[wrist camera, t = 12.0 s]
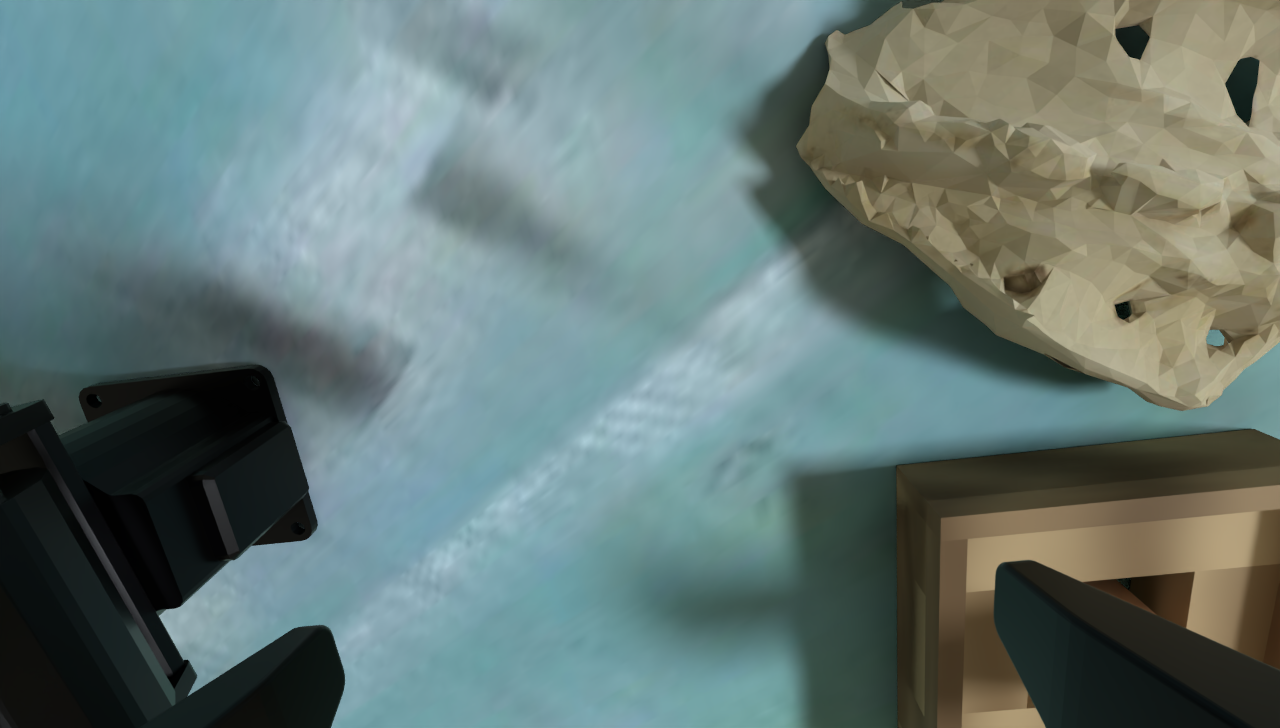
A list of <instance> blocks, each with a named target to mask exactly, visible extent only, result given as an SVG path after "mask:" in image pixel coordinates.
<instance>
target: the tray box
mask: <svg viewBox="0 0 1280 728" xmlns="http://www.w3.org/2000/svg"><path fill="white" fill-rule="evenodd" d="M896 484H897V697H898V728H1046V727H1045V725H1044V723H1043V721H1042V719H1041V717H1040V715H1039V713H1038V711H1037V709H1036V708H1035V706H1034V704H1033V702H1032V700H1031V698H1030V696H1029V694H1028V692H1027V690H1026V688H1025V686H1024V684H1023V682H1022V680H1021V678H1020V676H1019V674H1018V673H1017V671H1016V669H1015V667H1014V665H1013V663H1012V661H1011V659H1010V657H1009V655H1008V653H1007V651H1006V649H1005V647H1004V645H1003V643H1002V641H1001V639H1000V637H999V635H998V633H997V630H996V627H995V623H994V614H993V613H994V592H995V574H996V569H997V567H998V565H1000V564H1001V563H1003V562H1010V561H1021V560H1033V561H1036V562H1038V563H1041V564H1043V565H1045V566H1047V567H1050V568H1052V569H1054V570H1056V571H1059V572H1061V573H1063V574H1065V575H1068V576H1070V577H1072V578H1074V579H1077V580H1079V581H1081V582H1087V581H1097V580H1108V579H1119V578H1130V577H1131V583H1130V592H1131V593H1132V594H1133V595H1134V596H1136V597H1137V598H1138V599H1139V600H1140V601H1141V602H1143V603H1144V604H1145V605H1146V606H1147V607H1148V608H1149V609H1151V610H1152V611H1153V612H1154V613H1155V614H1156V615H1157V616H1160V617H1162V618H1164V619H1166V620H1169V621H1171V622H1173V623H1175V624H1178V625H1180V626H1182V627H1184V628H1187V629H1189V630H1191V631H1193V632H1196V633H1198V634H1200V635H1202V636H1205V637H1207V638H1209V639H1211V640H1214V641H1216V642H1218V643H1220V644H1223V645H1225V646H1227V647H1229V648H1232V649H1234V650H1236V651H1238V652H1240V653H1243V654H1245V655H1247V656H1249V657H1252V658H1254V659H1256V660H1258V661H1261V662H1263V663H1265V664H1267V665H1270V666H1272V667H1274V668H1276V669H1279V670H1280V440H1279V439H1277V438H1274V437H1272V436H1270V435H1267V434H1265V433H1262V432H1260V431H1258V430H1255V429H1249V430H1239V431H1229V432H1219V433H1210V434H1200V435H1190V436H1180V437H1171V438H1161V439H1151V440H1141V441H1131V442H1122V443H1112V444H1102V445H1092V446H1082V447H1073V448H1063V449H1053V450H1043V451H1034V452H1024V453H1014V454H1004V455H994V456H985V457H975V458H965V459H955V460H946V461H936V462H926V463H916V464H906V465H897V466H896Z"/></svg>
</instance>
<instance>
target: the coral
mask: <svg viewBox="0 0 1280 728" xmlns="http://www.w3.org/2000/svg"><path fill="white" fill-rule="evenodd" d="M1136 25H1139V26H1140V27H1141V28H1142V29H1143V30H1144V31H1145V32H1146V33H1147V34H1148V36H1149V37H1150V38H1149V40H1148V43H1147V45H1146V47H1145V50H1144V52H1143V54H1142V57H1141V59H1140V60H1139V59H1135V58H1131V57H1129V56H1128V55H1127V53H1126V52H1125V51H1124V49H1123V48H1122V46H1121V45H1120V44H1119V42H1118V40H1117V38H1116V36H1115V29H1117V28H1123V27H1130V26H1136ZM825 46H826V49H827V52H828V56H829V67H830V70H829V73H828V76H827V79H826V82H825V84H824V86H823V88H822V90H821V91H820V93H819V95H818V96H817V98H816V100H815V102H814V103H813V105H812V108H811V115H810V122H809V126H808V128H807V129H806V131H805V132H804V134H803V136H802V137H801V139H800V140H799V142H798V144H797V145H796V147H797V150H798V152H799V154H800V156H801V158H802V159H803V160H804V161H805V162H806V163H807V164H808V165H809V166H810V167H811V169H812V170H813V172H814V173H815V175H816V176H817V177H818V179H819V180H820V182H821V183H822V184H823V186H824V187H825V189H826V190H827V191H828V192H829V193H830V194H831V195H833V196H834V197H835V198H836V199H837V200H838V201H839V202H840V203H841V204H842V205H843V206H844V207H845V208H846V209H847V210H848V211H849V212H850V213H851V214H852V215H853V216H854V217H855V218H856V219H857V220H859V221H860V222H861V223H862V224H864V225H866V226H868V227H869V228H871V229H873V230H875V231H877V232H879V233H881V234H883V235H885V236H887V237H889V238H891V239H893V240H895V241H897V242H899V243H901V244H903V245H904V246H905V247H906V248H907V249H909V250H910V251H911V252H912V253H913V254H914V255H915V256H917V257H918V258H919V259H920V260H921V261H922V262H923V263H924V264H926V265H927V266H928V267H929V268H930V269H931V270H932V271H933V272H935V273H936V274H937V275H938V276H939V277H940V278H941V279H943V280H944V281H945V282H946V283H947V284H948V285H949V286H950V287H951V288H952V290H953V292H954V293H955V295H956V296H957V298H958V300H959V301H960V303H961V305H962V306H963V307H964V308H965V309H966V310H967V311H969V312H970V313H971V314H972V315H974V316H975V317H976V318H977V319H979V320H980V321H981V322H983V323H984V324H985V325H986V326H987V327H988V328H989V329H990V330H991V331H993V332H994V333H995V334H996V335H997V336H1000V337H1002V338H1005V339H1007V340H1009V341H1012V342H1014V343H1017V344H1019V345H1022V346H1024V347H1027V348H1029V349H1032V350H1034V351H1037V352H1039V353H1041V354H1044V355H1045V356H1047V357H1049V358H1050V359H1052V360H1053V361H1055V362H1057V363H1058V364H1060V365H1062V366H1063V367H1065V368H1068V369H1072V370H1075V371H1078V372H1081V373H1084V374H1087V375H1090V376H1093V377H1096V378H1099V379H1102V380H1105V381H1109V382H1112V383H1115V384H1119V385H1122V386H1125V387H1128V388H1129V389H1131V390H1132V391H1133V392H1135V393H1136V394H1137V395H1139V396H1140V397H1141V398H1143V399H1144V400H1145V401H1147V402H1150V403H1153V404H1155V405H1158V406H1161V407H1166V408H1171V409H1175V410H1180V411H1184V410H1190V409H1195V408H1201V407H1207V406H1209V405H1210V404H1211V403H1212V402H1213V401H1215V400H1216V399H1217V398H1218V397H1220V396H1221V395H1222V392H1223V390H1224V389H1225V388H1226V387H1227V386H1228V385H1229V384H1230V383H1232V382H1233V381H1234V380H1235V379H1236V378H1237V377H1238V375H1239V374H1240V373H1241V372H1242V371H1243V370H1244V369H1245V368H1246V367H1248V366H1250V365H1251V364H1253V363H1254V362H1256V361H1257V360H1258V359H1259V358H1261V357H1262V356H1263V355H1264V354H1266V353H1267V352H1268V351H1269V350H1270V349H1272V348H1273V347H1274V346H1275V345H1277V344H1278V343H1279V342H1280V0H944V1H942V2H941V3H930V4H927V5H923V6H920V7H917V8H914V9H911V8H903V7H902V2H900V3H898V4H897V5H895V6H894V7H892V8H891V9H890V10H888V11H887V12H886V13H885V14H883V15H882V16H881V17H879V18H878V19H877V20H876V21H874V22H873V23H872V24H871V25H869V26H866V27H863V28H861V29H858V30H855V31H853V32H850V33H848V34H843V33H841V32H840V31H838V30H836V31H835V32H833V33H832V34H831V35H829V36H828V38H827V40H826V42H825ZM1247 57H1253V58H1255V59H1258V60H1260V62H1259V72H1258V81H1257V86H1256V90H1255V93H1254V97H1253V105H1252V114H1251V119H1250V121H1248V122H1246V123H1244V122H1243V121H1242V120H1241V119H1240V118H1239V117H1238V115H1237V114H1236V112H1235V109H1234V106H1233V104H1232V101H1231V99H1230V96H1229V93H1228V91H1227V88H1226V86H1225V83H1226V81H1227V79H1228V78H1229V76H1230V74H1231V72H1232V71H1233V69H1234V67H1235V66H1236V64H1237V62H1238V61H1239V59H1242V58H1247ZM1126 301H1128V306H1129V310H1130V315H1131V316H1130V317H1128V318H1126V319H1124V320H1122V319H1121V318H1119V317H1118V316H1117V313H1116V309H1115V304H1119V303H1122V302H1126ZM1209 330H1220V332H1221V333H1222V334H1223V336H1224V337H1225V340H1224V345H1222V346H1213V345H1210V344H1207V343H1206V337H1207V334H1208V332H1209ZM1227 341H1228V342H1227ZM1228 343H1229V344H1228Z"/></svg>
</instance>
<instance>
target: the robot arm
mask: <svg viewBox="0 0 1280 728" xmlns="http://www.w3.org/2000/svg"><path fill="white" fill-rule="evenodd" d="M252 376H254V377H256V378H257V379H258V380H259V383H260V386H257V385H255V384H254V383H253V381H252ZM97 396H99V397H100V399H101V401H102V403H101V402H100V401H99V400H98V399H97ZM79 400H80V404H81V406H82V409H83V411H84V414H85V416H86V419H87V421H88V423H86V424H84V425H81V426H79V427H77V428H74V429H72V430H70V431H68V432H65V433H63V434H61V435H59V436H58V435H57V433H56V431H55V429H54V428H53V426H52V424H51V422H50V421H51V420H53V419H54V417H53V415H52V413H51V411H50V410H49V408H48V406H47V404H46V402H45V401H44V399H42V400H38V401H34V402H30V403H26V404H22V405H18V406H14V407H10V405H9V403H2V404H0V728H331V726H332V723H333V720H334V717H335V714H336V712H337V709H338V706H339V703H340V700H341V697H342V694H343V691H344V686H345V674H344V669H343V666H342V663H341V660H340V656H339V653H338V650H337V647H336V644H335V640H334V637H333V634H332V632H331V630H330V629H329V628H328V627H327V626H324V625H315V626H304V627H297V628H294V629H292V630H291V631H289V632H288V633H286V634H284V635H283V636H281V637H280V638H278V639H277V640H275V641H274V642H272V643H270V644H269V645H267V646H266V647H264V648H263V649H261V650H259V651H258V652H256V653H255V654H253V655H252V656H250V657H249V658H247V659H245V660H244V661H242V662H241V663H239V664H238V665H236V666H234V667H233V668H231V669H230V670H228V671H227V672H225V673H224V674H222V675H220V676H219V677H217V678H216V679H214V680H213V681H211V682H210V683H208V684H206V685H205V686H203V687H202V688H200V689H199V690H197V691H195V692H194V693H192V694H191V695H189V696H188V694H189V692H190V690H191V688H192V686H193V684H194V682H195V680H196V678H197V674H196V673H195V671H194V669H193V667H192V665H191V664H190V662H189V661H188V660H183V659H182V657H181V655H180V653H179V652H178V650H177V648H176V646H175V644H174V643H173V641H172V639H171V637H170V635H169V634H168V632H167V630H166V628H165V626H164V625H163V623H162V621H161V619H160V618H159V615H161V614H162V613H163V612H164V611H165V610H166V609H174V608H178V607H180V606H181V605H183V604H184V603H185V602H186V601H187V600H188V599H189V598H190V597H191V596H192V595H193V594H194V593H196V592H197V591H198V590H199V589H200V588H201V587H202V586H203V585H204V584H205V583H206V582H208V581H209V580H210V579H211V578H212V577H213V576H214V575H215V574H216V573H217V572H218V571H219V570H221V569H222V568H223V567H224V566H225V565H226V564H227V563H228V562H229V561H230V560H235V559H237V558H239V557H240V556H241V555H242V554H243V553H244V552H245V551H246V550H247V549H248V548H249V547H251V546H255V545H264V544H274V543H284V542H294V541H303V540H306V539H308V538H309V537H310V536H311V535H312V534H313V533H314V532H315V531H316V529H317V526H318V524H317V519H316V515H315V512H314V509H313V506H312V502H311V499H310V496H309V492H308V490H309V486H308V483H307V479H306V476H305V473H304V469H303V466H302V463H301V460H300V456H299V453H298V450H297V446H296V443H295V440H294V437H293V433H292V430H291V427H290V426H289V425H288V424H287V420H286V417H285V414H284V410H283V407H282V404H281V401H280V397H279V394H278V391H277V388H276V384H275V381H274V378H273V376H272V374H271V372H270V371H269V370H268V369H267V368H265V367H263V366H261V365H251V366H242V367H233V368H225V369H216V370H208V371H199V372H190V373H182V374H173V375H164V376H156V377H147V378H139V379H130V380H121V381H113V382H104V383H98V384H95V385H92V386H89V387H87V388H84V389H83V390H82V391H81V392H80V395H79ZM297 522H299V523H301V524H303V525H304V527H305V529H303V528H301V527H299V526H298V524H297ZM993 614H994V623H995V627H996V630H997V633H998V635H999V637H1000V639H1001V641H1002V643H1003V645H1004V647H1005V649H1006V651H1007V653H1008V655H1009V657H1010V659H1011V661H1012V663H1013V665H1014V667H1015V669H1016V671H1017V673H1018V674H1019V676H1020V678H1021V680H1022V682H1023V684H1024V686H1025V688H1026V690H1027V692H1028V694H1029V696H1030V698H1031V700H1032V702H1033V704H1034V706H1035V708H1036V709H1037V711H1038V713H1039V715H1040V717H1041V719H1042V721H1043V723H1044V725H1045V727H1046V728H1280V670H1279V669H1276V668H1274V667H1272V666H1270V665H1267V664H1265V663H1263V662H1261V661H1258V660H1256V659H1254V658H1252V657H1249V656H1247V655H1245V654H1243V653H1240V652H1238V651H1236V650H1234V649H1232V648H1229V647H1227V646H1225V645H1223V644H1220V643H1218V642H1216V641H1214V640H1211V639H1209V638H1207V637H1205V636H1202V635H1200V634H1198V633H1196V632H1193V631H1191V630H1189V629H1187V628H1184V627H1182V626H1180V625H1178V624H1175V623H1173V622H1171V621H1169V620H1166V619H1164V618H1162V617H1160V616H1157V615H1155V614H1153V613H1151V612H1148V611H1146V610H1144V609H1142V608H1139V607H1137V606H1135V605H1133V604H1130V603H1128V602H1126V601H1124V600H1122V599H1119V598H1117V597H1115V596H1113V595H1110V594H1108V593H1106V592H1104V591H1101V590H1099V589H1097V588H1095V587H1092V586H1090V585H1088V584H1086V583H1083V582H1081V581H1079V580H1077V579H1074V578H1072V577H1070V576H1068V575H1065V574H1063V573H1061V572H1059V571H1056V570H1054V569H1052V568H1050V567H1047V566H1045V565H1043V564H1041V563H1038V562H1036V561H1033V560H1021V561H1010V562H1003V563H1001V564H1000V565H998V567H997V569H996V574H995V592H994V613H993ZM187 696H188V697H187Z"/></svg>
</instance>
